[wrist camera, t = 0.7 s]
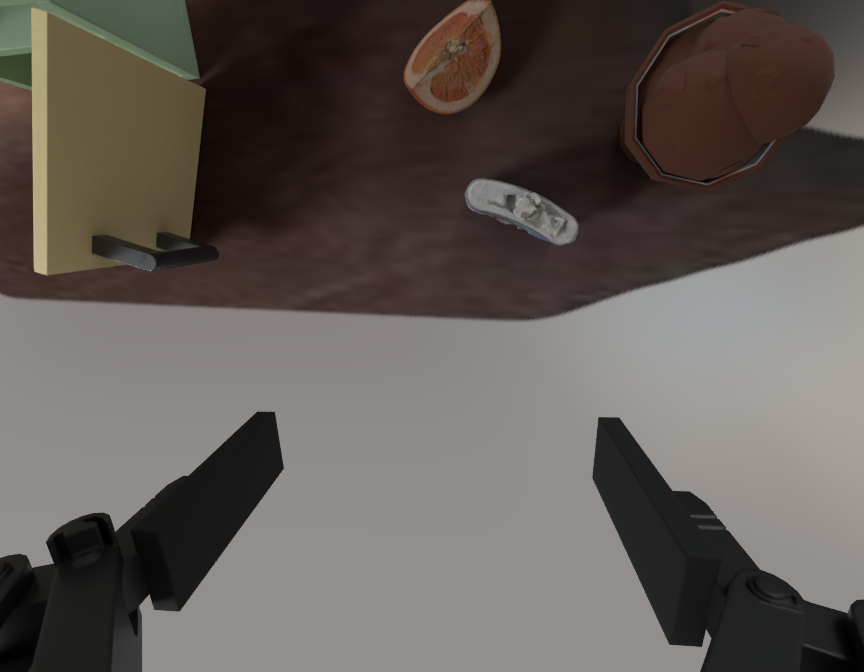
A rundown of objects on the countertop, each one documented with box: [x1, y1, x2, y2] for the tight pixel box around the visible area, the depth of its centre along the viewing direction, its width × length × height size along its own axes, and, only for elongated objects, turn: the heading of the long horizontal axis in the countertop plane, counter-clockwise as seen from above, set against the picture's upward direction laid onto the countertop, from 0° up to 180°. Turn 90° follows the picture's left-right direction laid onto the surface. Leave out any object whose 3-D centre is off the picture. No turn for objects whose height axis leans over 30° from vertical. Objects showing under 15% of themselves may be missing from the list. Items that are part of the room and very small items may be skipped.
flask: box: [465, 178, 580, 246], centre depth 33 cm, size 9×3×11 cm, turn 68°
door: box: [31, 7, 219, 275], centre depth 33 cm, size 6×16×15 cm, turn 163°
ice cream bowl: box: [620, 0, 835, 192], centre depth 28 cm, size 11×11×15 cm
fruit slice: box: [404, 0, 501, 115], centre depth 33 cm, size 8×7×5 cm
